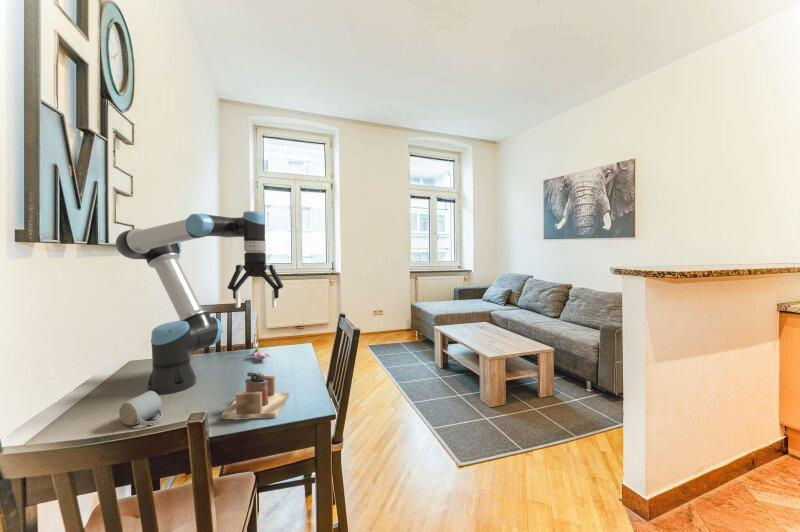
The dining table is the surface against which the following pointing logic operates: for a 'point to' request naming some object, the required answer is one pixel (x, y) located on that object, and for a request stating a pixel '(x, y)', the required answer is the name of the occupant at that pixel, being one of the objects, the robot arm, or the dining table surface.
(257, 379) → the lighter
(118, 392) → the dining table surface
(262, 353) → the pink flower
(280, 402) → the stand
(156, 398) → the ceramic mug
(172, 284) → the robot arm
